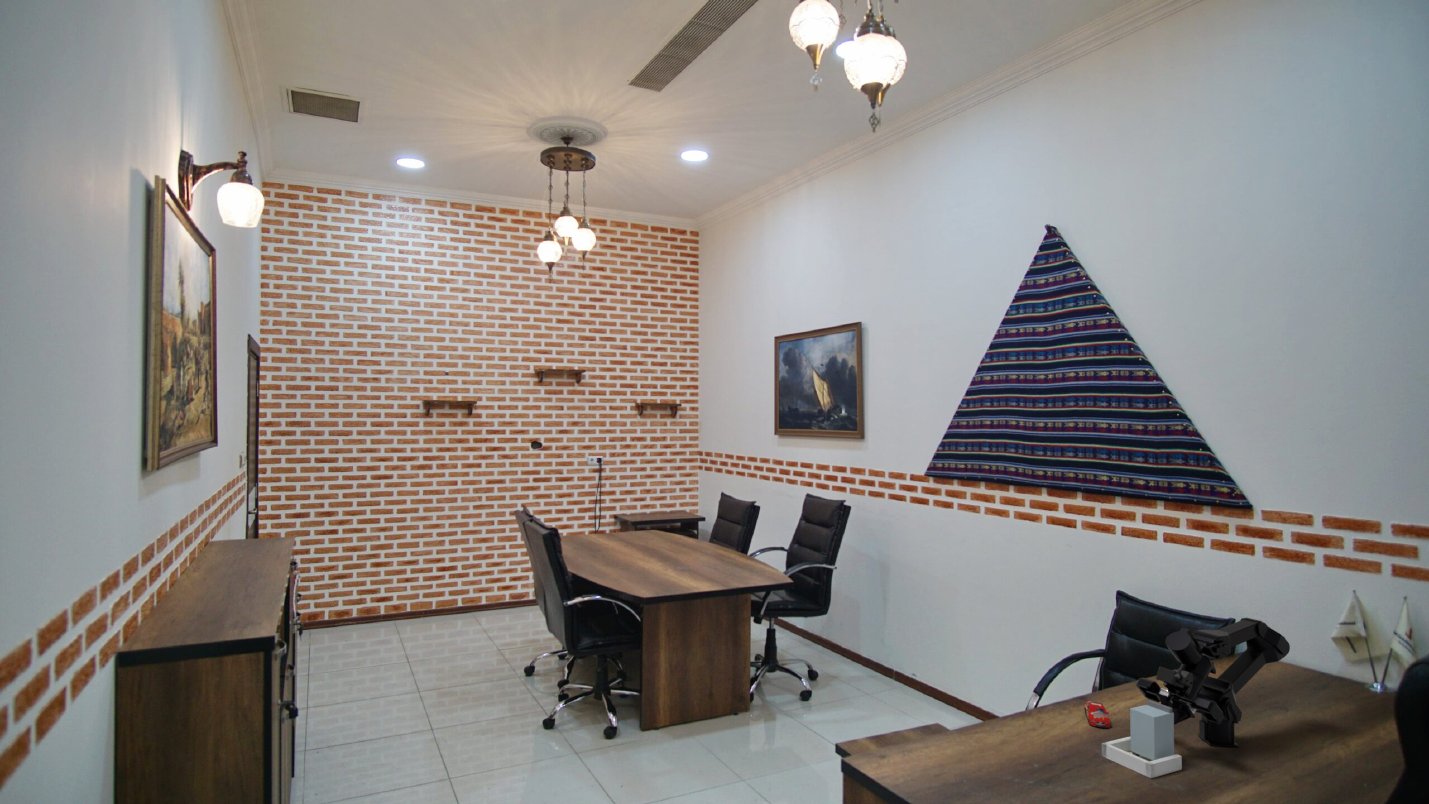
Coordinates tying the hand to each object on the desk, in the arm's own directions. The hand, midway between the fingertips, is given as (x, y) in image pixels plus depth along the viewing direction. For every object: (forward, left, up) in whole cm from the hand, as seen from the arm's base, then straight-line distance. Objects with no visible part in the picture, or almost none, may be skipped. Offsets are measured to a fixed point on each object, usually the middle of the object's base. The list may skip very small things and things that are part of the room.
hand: (1162, 728), depth 181 cm
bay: (+6, +4, -7) cm, 10 cm away
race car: (+7, -22, -7) cm, 24 cm away
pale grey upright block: (+3, +2, -7) cm, 8 cm away
